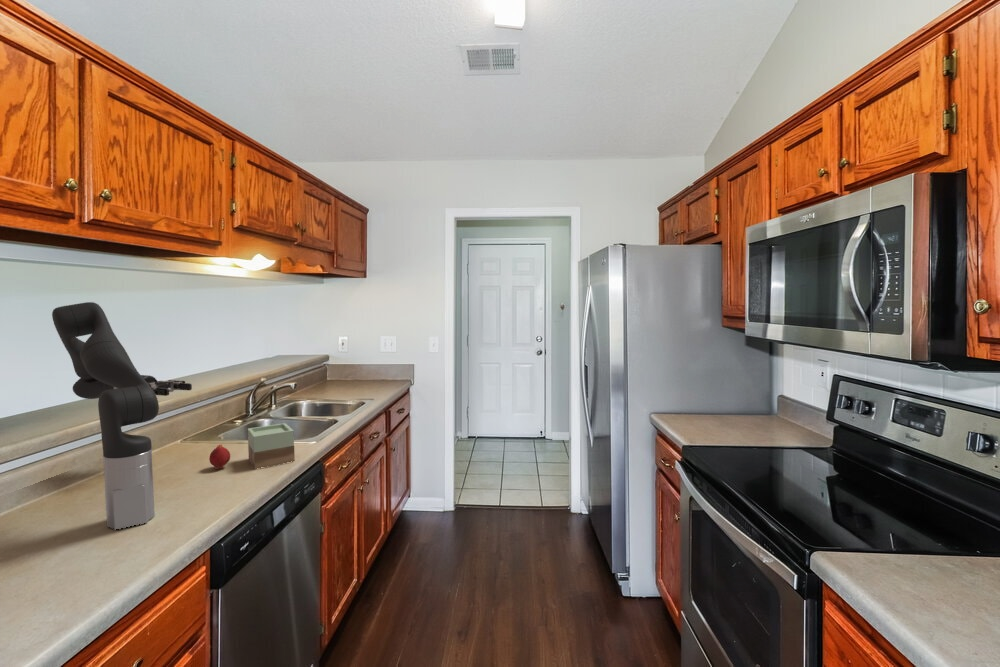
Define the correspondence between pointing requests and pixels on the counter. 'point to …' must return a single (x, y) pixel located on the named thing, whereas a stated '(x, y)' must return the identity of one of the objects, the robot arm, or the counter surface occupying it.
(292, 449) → the tower base
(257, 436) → the tower top
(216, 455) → the onion
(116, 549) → the counter surface
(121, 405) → the robot arm
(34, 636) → the counter surface
